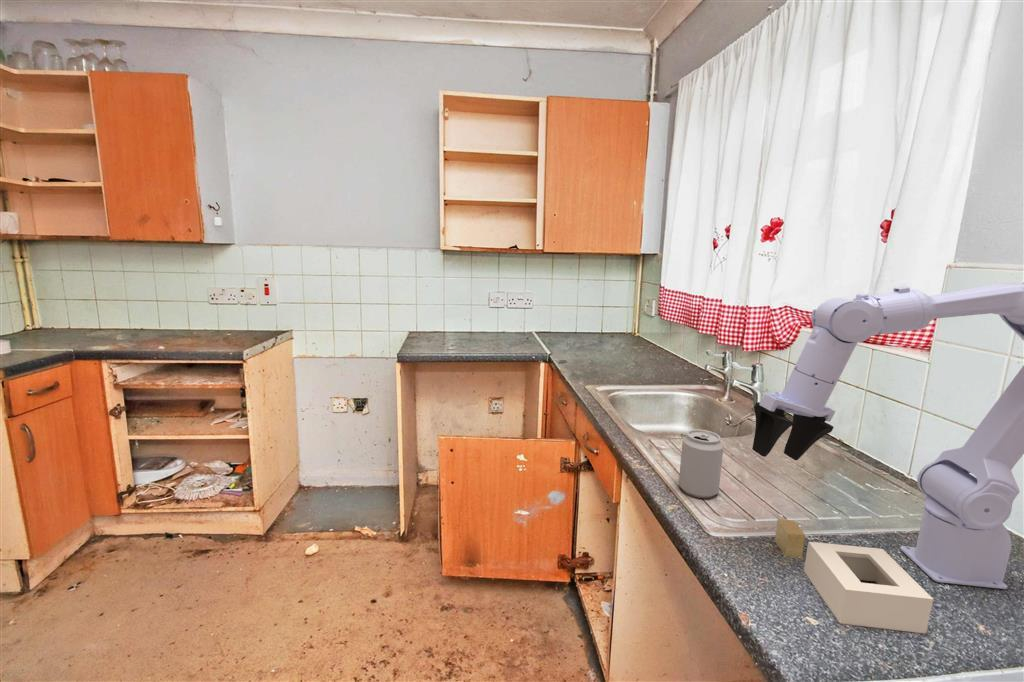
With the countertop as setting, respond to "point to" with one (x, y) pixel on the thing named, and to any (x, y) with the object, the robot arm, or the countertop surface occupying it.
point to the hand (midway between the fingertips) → (774, 455)
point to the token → (789, 538)
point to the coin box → (867, 587)
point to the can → (701, 463)
